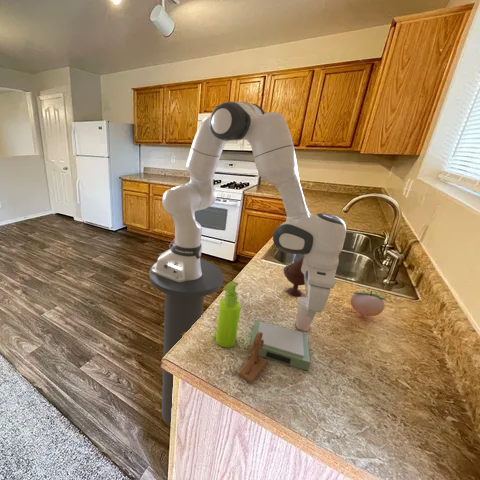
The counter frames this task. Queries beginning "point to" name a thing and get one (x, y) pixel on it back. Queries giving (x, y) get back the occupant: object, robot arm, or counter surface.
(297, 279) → the ice cream bowl
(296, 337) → the scale
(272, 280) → the counter surface
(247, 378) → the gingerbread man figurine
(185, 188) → the robot arm
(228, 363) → the counter surface
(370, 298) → the decorative fruit
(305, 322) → the smoothie
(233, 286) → the soap dispenser
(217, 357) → the counter surface
